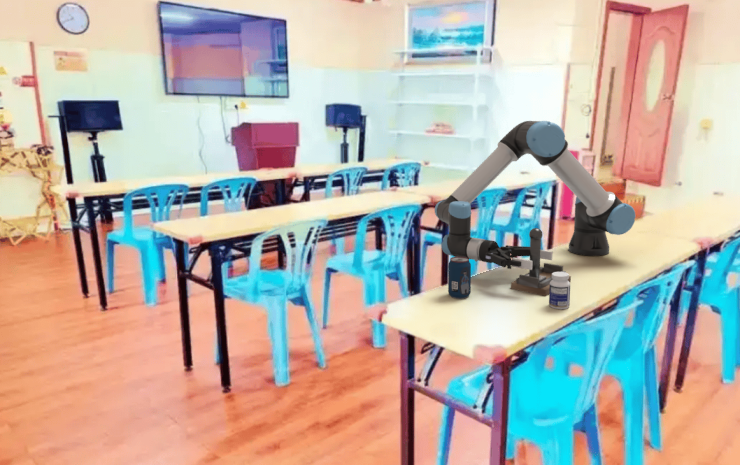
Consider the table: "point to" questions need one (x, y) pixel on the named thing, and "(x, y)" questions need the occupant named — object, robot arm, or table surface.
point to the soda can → (459, 277)
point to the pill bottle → (559, 291)
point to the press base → (537, 280)
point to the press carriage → (535, 253)
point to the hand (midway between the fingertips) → (542, 260)
